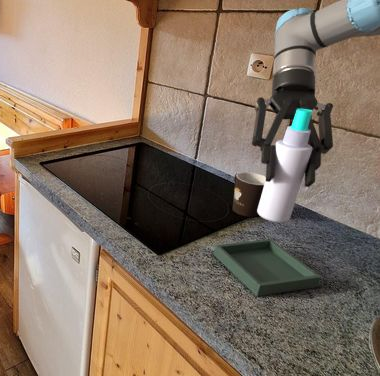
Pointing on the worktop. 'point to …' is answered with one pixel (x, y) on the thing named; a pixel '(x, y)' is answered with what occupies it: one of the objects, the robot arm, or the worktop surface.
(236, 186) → the coffee mug
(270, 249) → the tray
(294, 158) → the spray bottle
